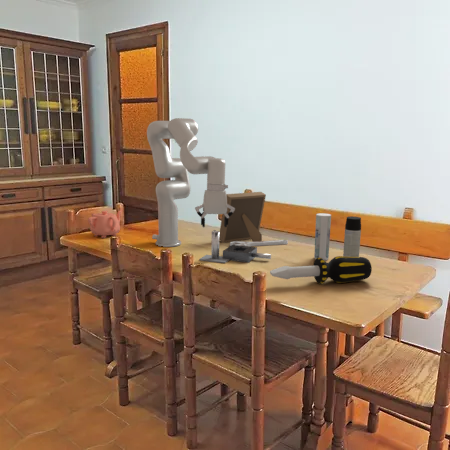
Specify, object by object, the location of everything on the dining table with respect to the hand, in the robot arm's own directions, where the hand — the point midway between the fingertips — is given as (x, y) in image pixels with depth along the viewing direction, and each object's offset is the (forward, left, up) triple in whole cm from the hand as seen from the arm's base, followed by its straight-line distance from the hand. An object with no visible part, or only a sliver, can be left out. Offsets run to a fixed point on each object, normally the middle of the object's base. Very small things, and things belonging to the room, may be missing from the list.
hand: (214, 226), depth 204 cm
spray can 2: (+44, +20, -15) cm, 50 cm away
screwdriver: (+50, -15, -15) cm, 54 cm away
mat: (+1, 0, -15) cm, 15 cm away
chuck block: (+14, +7, -15) cm, 21 cm away
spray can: (+57, +18, -15) cm, 61 cm away
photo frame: (+2, +37, -15) cm, 40 cm away
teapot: (-71, +22, -15) cm, 76 cm away
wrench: (+13, +30, -14) cm, 36 cm away
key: (+1, 0, -14) cm, 14 cm away
